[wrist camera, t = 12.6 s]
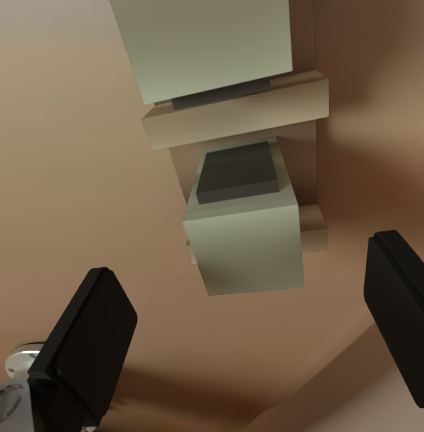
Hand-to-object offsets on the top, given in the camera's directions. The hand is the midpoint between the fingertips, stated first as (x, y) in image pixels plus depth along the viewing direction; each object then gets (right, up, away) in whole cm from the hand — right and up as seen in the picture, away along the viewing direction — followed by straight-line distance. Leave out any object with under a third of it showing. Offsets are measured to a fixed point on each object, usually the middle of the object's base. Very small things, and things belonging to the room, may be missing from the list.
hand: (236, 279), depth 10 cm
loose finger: (+1, +5, +6) cm, 8 cm away
